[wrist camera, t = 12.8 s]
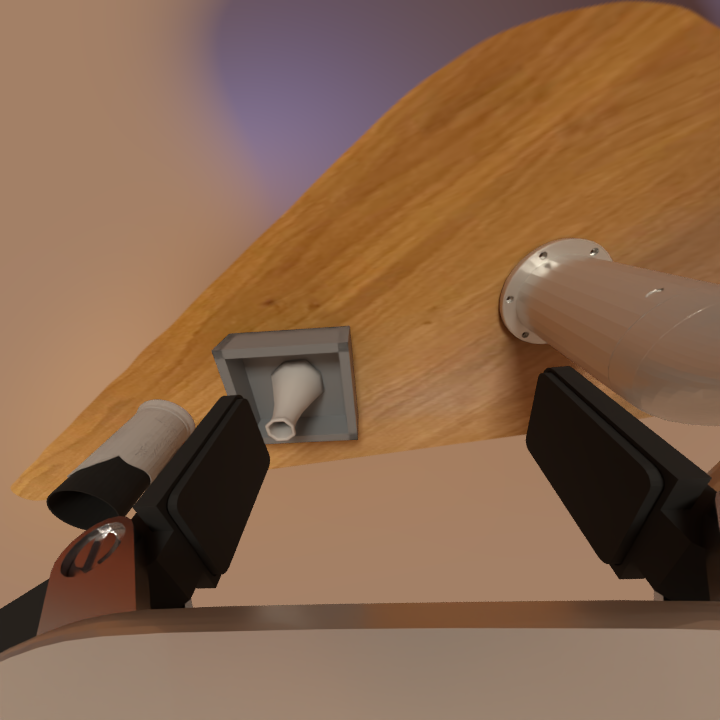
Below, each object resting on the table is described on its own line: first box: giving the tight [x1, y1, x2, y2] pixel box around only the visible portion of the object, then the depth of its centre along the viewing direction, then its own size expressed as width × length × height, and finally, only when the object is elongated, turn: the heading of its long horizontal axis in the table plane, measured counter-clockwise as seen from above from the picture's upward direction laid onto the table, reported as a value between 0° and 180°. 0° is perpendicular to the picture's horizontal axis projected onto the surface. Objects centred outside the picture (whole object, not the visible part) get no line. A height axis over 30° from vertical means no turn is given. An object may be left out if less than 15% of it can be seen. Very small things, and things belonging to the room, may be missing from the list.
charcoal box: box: [212, 326, 358, 444], centre depth 38 cm, size 16×15×5 cm
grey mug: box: [47, 400, 195, 530], centre depth 39 cm, size 9×14×15 cm, turn 35°
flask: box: [265, 360, 324, 441], centre depth 35 cm, size 7×7×10 cm
